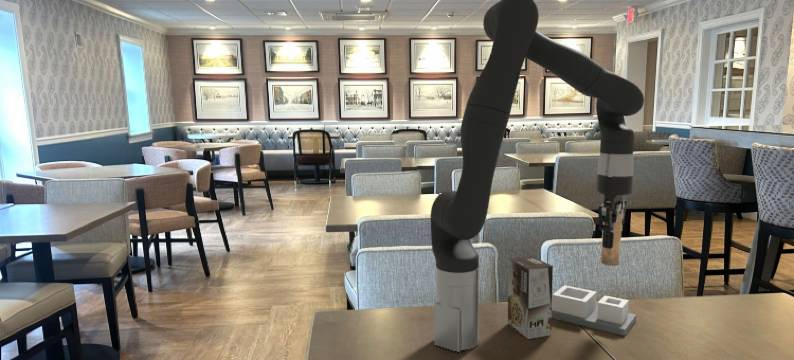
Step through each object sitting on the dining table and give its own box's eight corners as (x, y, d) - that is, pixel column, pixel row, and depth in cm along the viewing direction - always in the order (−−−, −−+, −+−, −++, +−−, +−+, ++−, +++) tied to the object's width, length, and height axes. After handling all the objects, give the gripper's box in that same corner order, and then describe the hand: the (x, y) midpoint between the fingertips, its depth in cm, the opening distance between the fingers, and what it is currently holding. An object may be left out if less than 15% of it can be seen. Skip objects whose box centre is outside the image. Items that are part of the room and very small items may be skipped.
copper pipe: (616, 266, 115) (619, 215, 114) (598, 263, 118) (601, 213, 116) (621, 262, 118) (624, 212, 117) (603, 259, 121) (606, 210, 119)
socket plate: (624, 336, 112) (625, 312, 111) (550, 317, 122) (550, 295, 121) (636, 320, 119) (637, 298, 119) (565, 304, 130) (565, 284, 129)
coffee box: (552, 335, 113) (554, 266, 110) (527, 340, 111) (528, 269, 109) (530, 319, 121) (531, 254, 119) (506, 323, 119) (507, 257, 117)
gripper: (607, 169, 123) (603, 237, 125) (587, 174, 112) (583, 249, 115) (640, 171, 118) (636, 242, 121) (623, 177, 108) (618, 255, 110)
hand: (610, 245), depth 118 cm, fingers closed on copper pipe, 4 cm apart
